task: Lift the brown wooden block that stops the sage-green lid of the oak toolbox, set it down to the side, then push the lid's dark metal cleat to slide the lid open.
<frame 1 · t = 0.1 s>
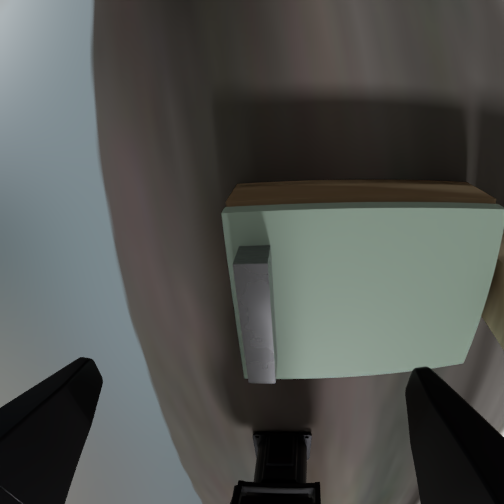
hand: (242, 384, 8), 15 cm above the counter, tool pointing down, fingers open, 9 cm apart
brown wooden block: (487, 257, 21), on the counter
lid: (375, 311, 17), point 6 cm above the counter, slide at 0.0 cm
toolbox: (358, 263, 22), on the counter
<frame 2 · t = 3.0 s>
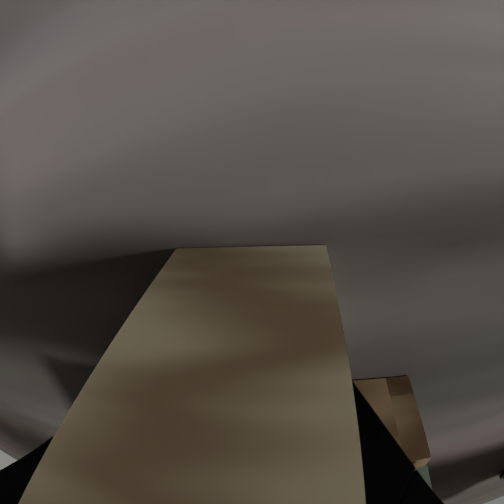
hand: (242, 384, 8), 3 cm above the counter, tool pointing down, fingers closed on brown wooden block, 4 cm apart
brown wooden block: (254, 315, 11), on the counter, touching gripper
toolbox: (268, 467, 15), on the counter
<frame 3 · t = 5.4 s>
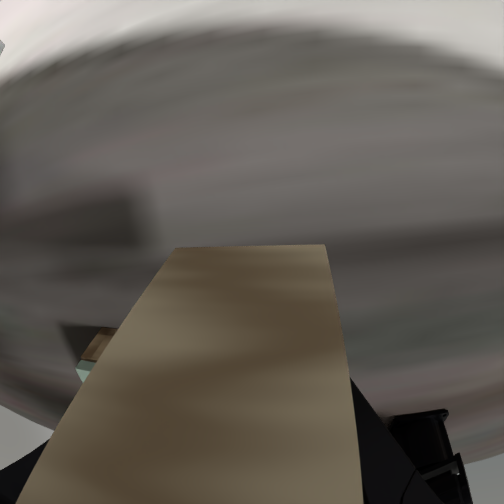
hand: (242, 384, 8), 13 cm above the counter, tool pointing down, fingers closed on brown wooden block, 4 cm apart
brown wooden block: (253, 315, 11), point 10 cm above the counter, touching gripper
lid: (165, 445, 23), point 6 cm above the counter, slide at 0.0 cm
toolbox: (182, 396, 28), on the counter
when the fingers open (4 cm above the counter, at t = 7.6 s): brown wooden block drops 1 cm, on the counter.
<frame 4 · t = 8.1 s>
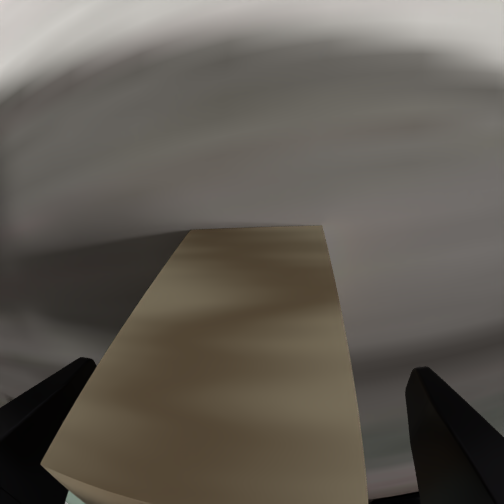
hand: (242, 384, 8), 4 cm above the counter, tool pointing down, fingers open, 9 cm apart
brown wooden block: (259, 290, 12), on the counter
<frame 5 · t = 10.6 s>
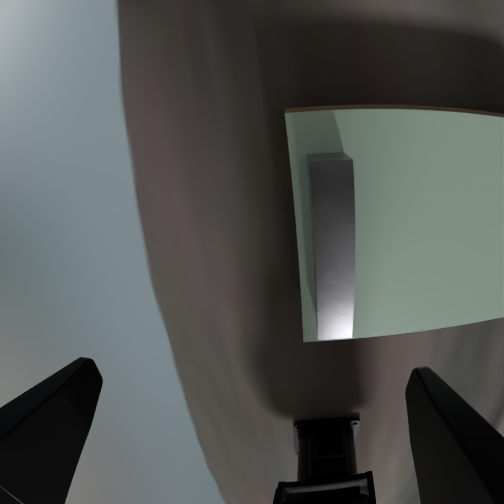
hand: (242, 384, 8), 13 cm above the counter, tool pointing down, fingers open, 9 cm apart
lid: (461, 237, 13), point 6 cm above the counter, slide at 0.0 cm
toolbox: (420, 201, 18), on the counter
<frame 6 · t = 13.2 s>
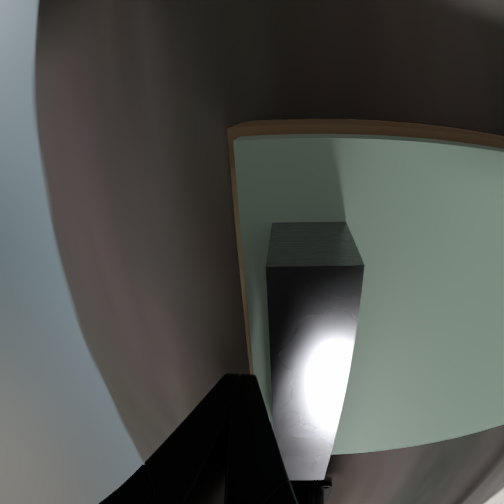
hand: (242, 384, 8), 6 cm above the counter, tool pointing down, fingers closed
toolbox: (437, 265, 13), on the counter
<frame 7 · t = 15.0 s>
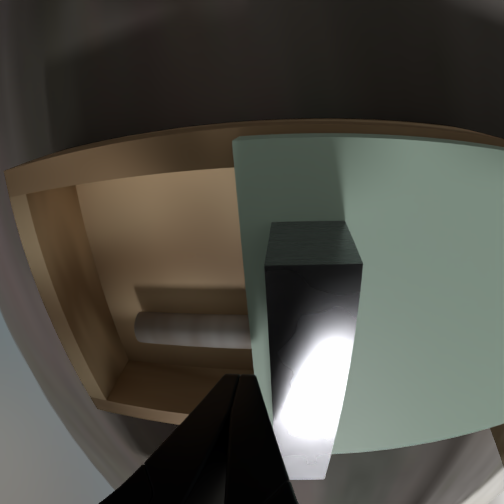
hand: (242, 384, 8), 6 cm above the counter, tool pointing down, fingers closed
toolbox: (254, 268, 14), on the counter
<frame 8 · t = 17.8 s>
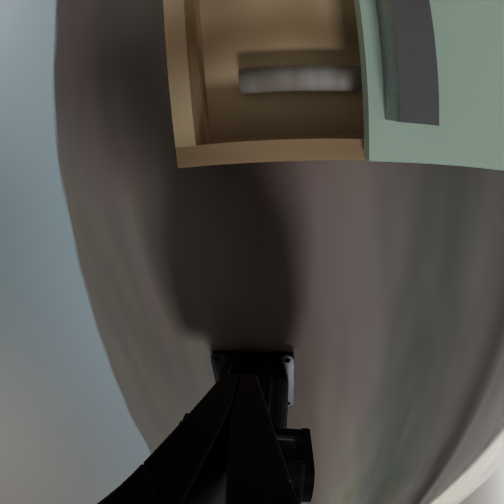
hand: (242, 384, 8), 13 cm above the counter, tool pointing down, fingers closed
toolbox: (332, 47, 15), on the counter
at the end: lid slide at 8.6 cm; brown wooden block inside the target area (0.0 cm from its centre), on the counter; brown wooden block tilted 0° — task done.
